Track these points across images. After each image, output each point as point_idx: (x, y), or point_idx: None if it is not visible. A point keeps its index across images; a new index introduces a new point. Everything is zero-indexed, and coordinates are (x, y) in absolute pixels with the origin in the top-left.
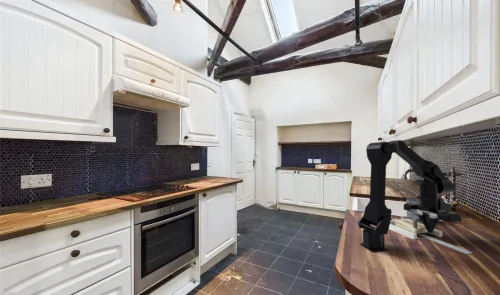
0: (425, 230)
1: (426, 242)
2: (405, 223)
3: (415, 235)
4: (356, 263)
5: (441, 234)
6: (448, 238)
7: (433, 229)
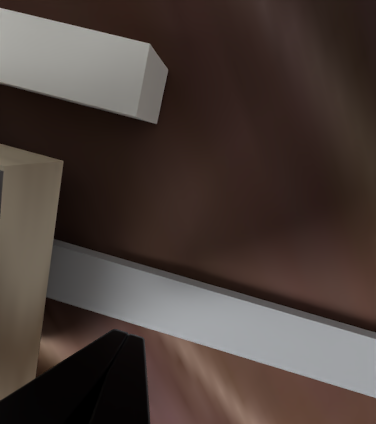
0: (30, 277)
1: (182, 419)
2: None
3: None
4: None
5: (157, 74)
6: (242, 73)
7: (146, 396)
